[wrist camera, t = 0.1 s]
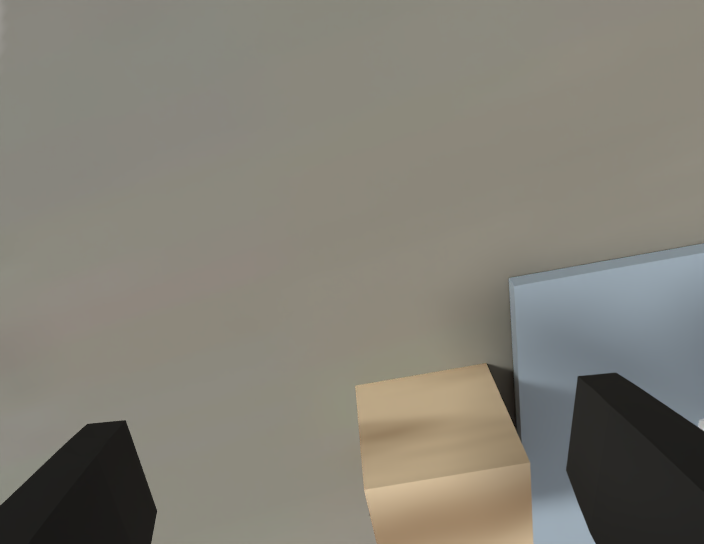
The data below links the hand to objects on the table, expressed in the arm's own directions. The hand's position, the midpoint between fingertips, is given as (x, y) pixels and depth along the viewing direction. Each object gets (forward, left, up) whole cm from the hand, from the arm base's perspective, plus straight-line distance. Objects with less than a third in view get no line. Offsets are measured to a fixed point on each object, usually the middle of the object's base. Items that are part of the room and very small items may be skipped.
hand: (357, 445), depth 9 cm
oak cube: (-9, -2, -10) cm, 14 cm away
